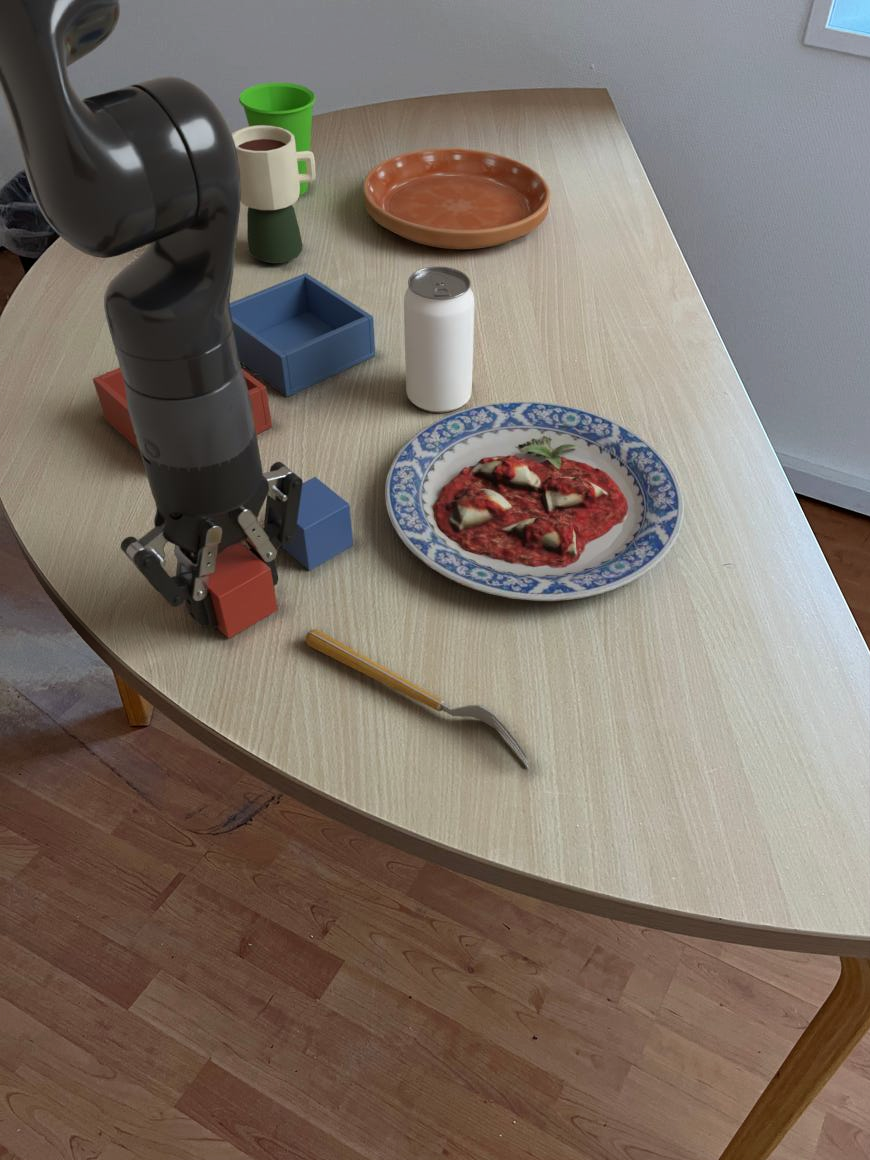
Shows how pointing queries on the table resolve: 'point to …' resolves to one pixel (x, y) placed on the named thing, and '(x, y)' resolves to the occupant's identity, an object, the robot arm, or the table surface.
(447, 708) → the fork
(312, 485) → the blue block
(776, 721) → the table surface
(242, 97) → the cup
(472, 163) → the saucer
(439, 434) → the ceramic plate
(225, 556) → the red block
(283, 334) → the blue bin
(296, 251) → the character mug
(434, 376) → the can
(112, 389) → the red bin
